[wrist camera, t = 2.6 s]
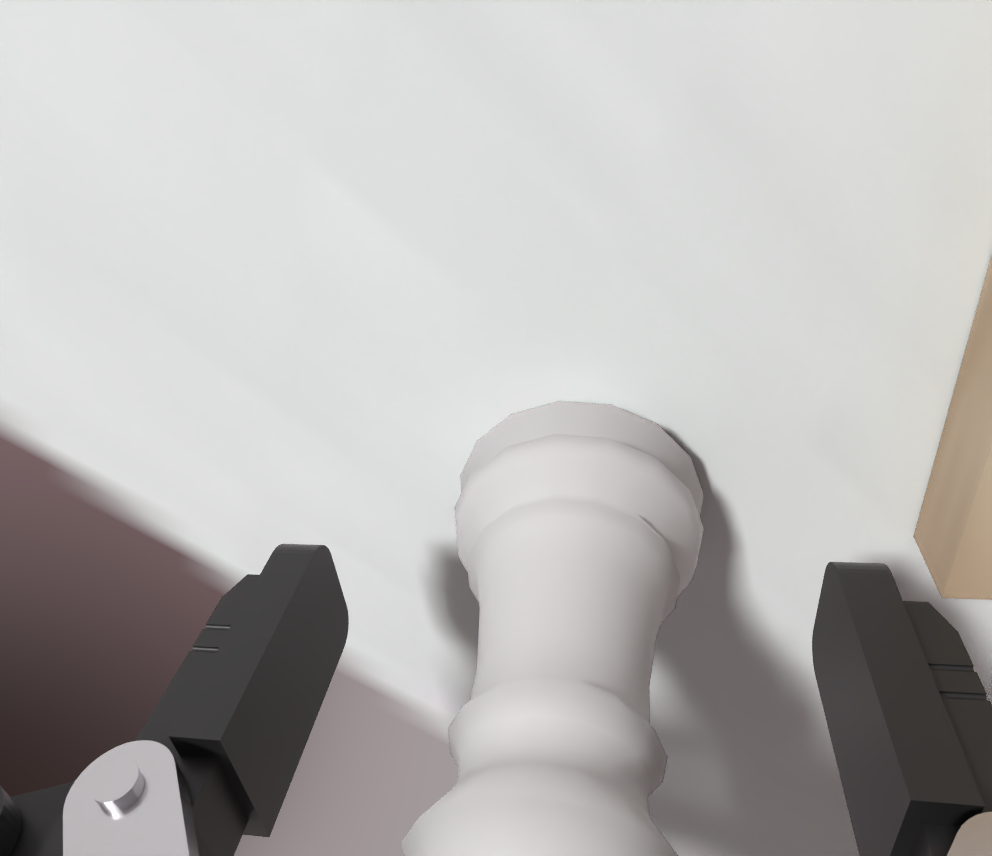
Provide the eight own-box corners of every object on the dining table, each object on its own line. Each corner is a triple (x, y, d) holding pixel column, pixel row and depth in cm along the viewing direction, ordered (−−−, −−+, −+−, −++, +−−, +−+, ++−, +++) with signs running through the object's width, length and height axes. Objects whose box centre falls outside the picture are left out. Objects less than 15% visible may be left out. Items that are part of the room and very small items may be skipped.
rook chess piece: (755, 474, 13) (873, 1010, 7) (602, 603, 16) (580, 1090, 9) (552, 338, 12) (460, 806, 6) (422, 498, 15) (256, 954, 8)
